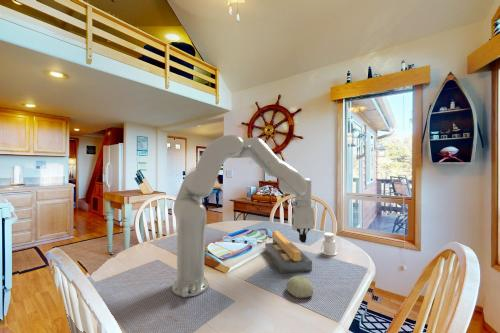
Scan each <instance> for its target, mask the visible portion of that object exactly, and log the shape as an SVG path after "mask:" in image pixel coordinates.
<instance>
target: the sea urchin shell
mask: <svg viewBox="0 0 500 333" xmlns="http://www.w3.org/2000/svg"><path fill="white" fill-rule="evenodd" d="M285 287H286V290H287V291H288V293H289V294H290V295H292V296H293V297H296V298H298V299H300V298H301V299H303V298H309V297H311V296H312V295H314V285H313V283H312V282H311V281H310V279H308V278H306V277H303V276H297V275H296V276H295V275H294V276H292V277H291V278H289V279H288V280H287V282H286V284H285Z"/></svg>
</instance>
